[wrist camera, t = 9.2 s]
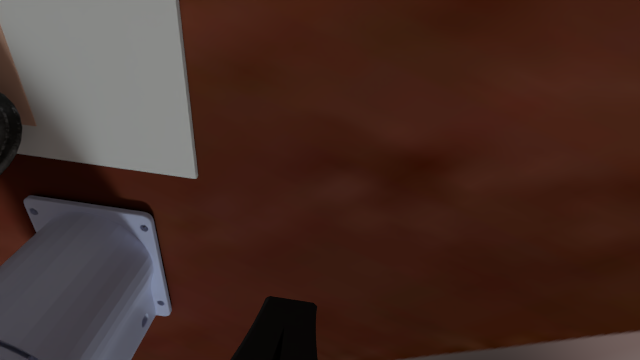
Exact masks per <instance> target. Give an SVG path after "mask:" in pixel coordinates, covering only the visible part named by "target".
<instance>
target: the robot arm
mask: <svg viewBox="0 0 640 360" xmlns="http://www.w3.org/2000/svg"><path fill="white" fill-rule="evenodd" d="M23 202H24V205H25V208H26V210H27V212H28V215H29V217H30V219H31V222H32V224H33V226H34V229H35V231H36V234H35V235H34V236H33V237H32V238H31V239H29V240H28V241H27V242H26V243H25V244H24V245H23V246H22V247H21V248H20V249H19V250H18V251H17V252H15V253H14V254H13V255H12V256H11V257H10V258H9V259H8V260H7V261H6V262H5V263H4V264H2V265H1V266H0V360H131V359H132V357H133V355H134V353H135V351H136V350H137V348H138V346H139V344H140V343H141V341H142V339H143V337H144V335H145V334H146V332H147V330H148V328H149V326H150V325H151V323H152V321H153V319H154V317H155V316H156V315H160V316H168V315H169V314H170V313H171V311H172V308H171V303H170V298H169V294H168V289H167V284H166V279H165V274H164V269H163V264H162V259H161V254H160V249H159V244H158V239H157V234H156V230H155V225H154V220H153V217H152V216H151V215H150V214H149V213H147V212H142V211H135V210H128V209H122V208H115V207H108V206H101V205H94V204H88V203H81V202H74V201H67V200H60V199H53V198H47V197H40V196H33V195H30V196H28V197H27V198H25V199H24V201H23ZM144 225H145V226H144ZM146 226H147V227H146ZM316 311H317V306H316V305H315V304H314V303H311V302H304V301H298V300H291V299H285V298H279V297H272V296H269V297H267V298H266V299H265V301H264V304H263V306H262V308H261V310H260V312H259V314H258V316H257V317H256V319H255V321H254V323H253V325H252V326H251V328H250V330H249V331H248V333H247V335H246V336H245V338H244V340H243V341H242V343H241V345H240V346H239V348H238V349H237V351H236V352H235V354H234V355H233V357H232V358H231V360H317V348H316Z"/></svg>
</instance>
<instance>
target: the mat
mask: <svg viewBox="0 0 640 360" xmlns="http://www.w3.org/2000/svg"><path fill="white" fill-rule="evenodd" d="M0 93H2V94H4V95H5V96H6V97H7V98H8V99H9V100H10V101H11V102H12V103H13V104H14V105H15V107H16V109H17V111H18V113H19V114H20V118H21V123H22V138H21V143H20V146H19V149H18V151H17V154H23V155H30V156H38V157H45V158H52V159H59V160H66V161H73V162H80V163H87V164H94V165H101V166H108V167H115V168H123V169H130V170H137V171H144V172H151V173H158V174H165V175H172V176H179V177H186V178H193V179H196V178H197V177H198V170H197V161H196V152H195V143H194V134H193V125H192V116H191V107H190V98H189V89H188V80H187V71H186V62H185V53H184V43H183V34H182V25H181V16H180V7H179V0H0Z"/></svg>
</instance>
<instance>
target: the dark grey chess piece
mask: <svg viewBox="0 0 640 360" xmlns="http://www.w3.org/2000/svg"><path fill="white" fill-rule="evenodd" d="M21 138H22V123H21V118H20V114H19V113H18V111H17V109H16V107H15V105H14V104H13V103H12V102H11V101H10V100H9V99H8V98H7V97H6V96H5V95H4V94H2V93H0V175H1V174H2V172H3V171H4V170H5V169H6V168H7V167H8V166H9V165H10V163H11V162H12V160H13V159H14V157H15V155H16V154H17V151H18V149H19V146H20V143H21Z"/></svg>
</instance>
